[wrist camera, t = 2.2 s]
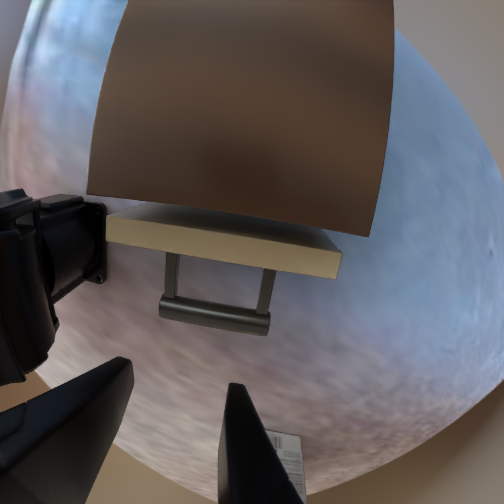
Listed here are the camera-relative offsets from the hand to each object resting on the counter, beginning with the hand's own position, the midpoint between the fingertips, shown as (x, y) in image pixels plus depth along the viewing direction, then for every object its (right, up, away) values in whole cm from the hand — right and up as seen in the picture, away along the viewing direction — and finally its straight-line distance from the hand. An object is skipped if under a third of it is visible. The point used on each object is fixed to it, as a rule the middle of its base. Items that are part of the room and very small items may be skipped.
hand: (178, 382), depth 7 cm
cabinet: (+2, +14, +9) cm, 17 cm away
